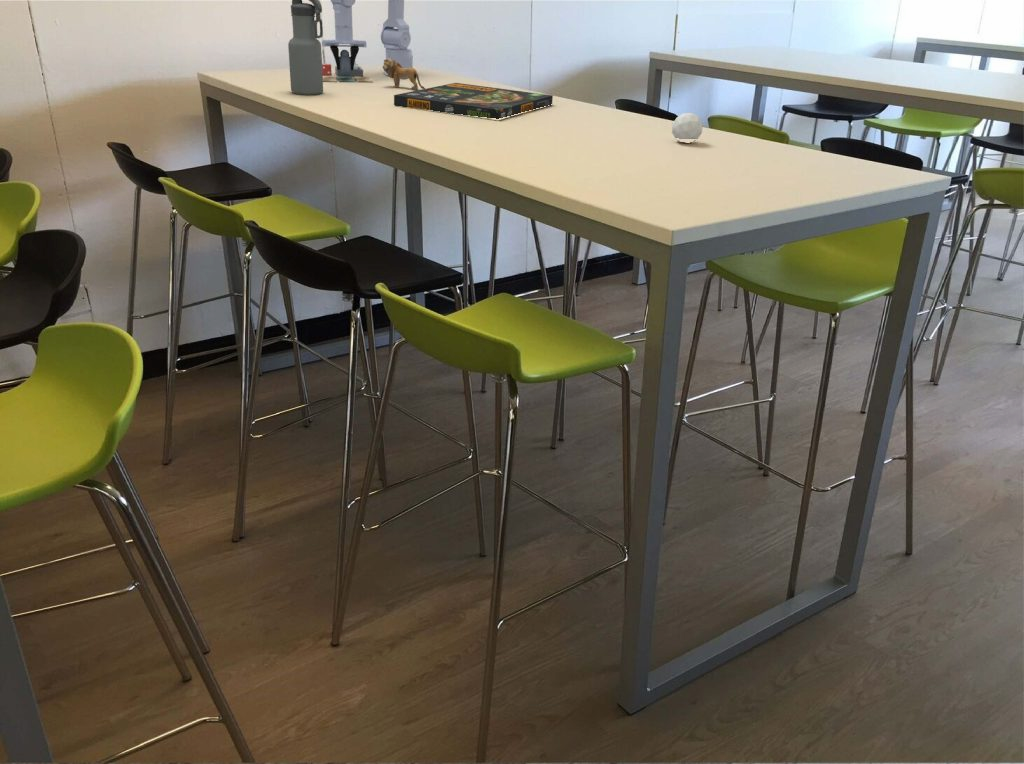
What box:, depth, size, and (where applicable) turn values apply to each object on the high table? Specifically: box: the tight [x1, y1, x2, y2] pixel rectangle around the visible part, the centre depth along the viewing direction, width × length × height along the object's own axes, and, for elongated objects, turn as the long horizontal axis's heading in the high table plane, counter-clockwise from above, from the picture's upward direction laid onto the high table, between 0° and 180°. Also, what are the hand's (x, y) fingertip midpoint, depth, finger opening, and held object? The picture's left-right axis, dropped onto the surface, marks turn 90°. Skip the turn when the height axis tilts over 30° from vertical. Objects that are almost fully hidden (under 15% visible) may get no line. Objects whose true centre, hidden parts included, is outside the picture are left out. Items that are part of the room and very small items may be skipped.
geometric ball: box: [671, 112, 703, 140], centre depth 229 cm, size 8×8×8 cm
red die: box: [322, 63, 332, 76], centre depth 310 cm, size 4×4×4 cm
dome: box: [354, 60, 359, 70], centre depth 311 cm, size 6×6×4 cm
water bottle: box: [287, 0, 324, 96], centre depth 268 cm, size 10×10×28 cm
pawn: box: [339, 49, 351, 76], centre depth 299 cm, size 4×4×8 cm
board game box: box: [393, 82, 554, 119], centre depth 267 cm, size 35×35×4 cm
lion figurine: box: [382, 58, 426, 91], centre depth 290 cm, size 15×5×9 cm, turn 73°
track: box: [323, 75, 374, 83], centre depth 302 cm, size 17×10×1 cm, turn 106°
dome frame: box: [334, 65, 364, 78], centre depth 312 cm, size 9×9×2 cm
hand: (345, 69), depth 300 cm, fingers closed on pawn, 4 cm apart
